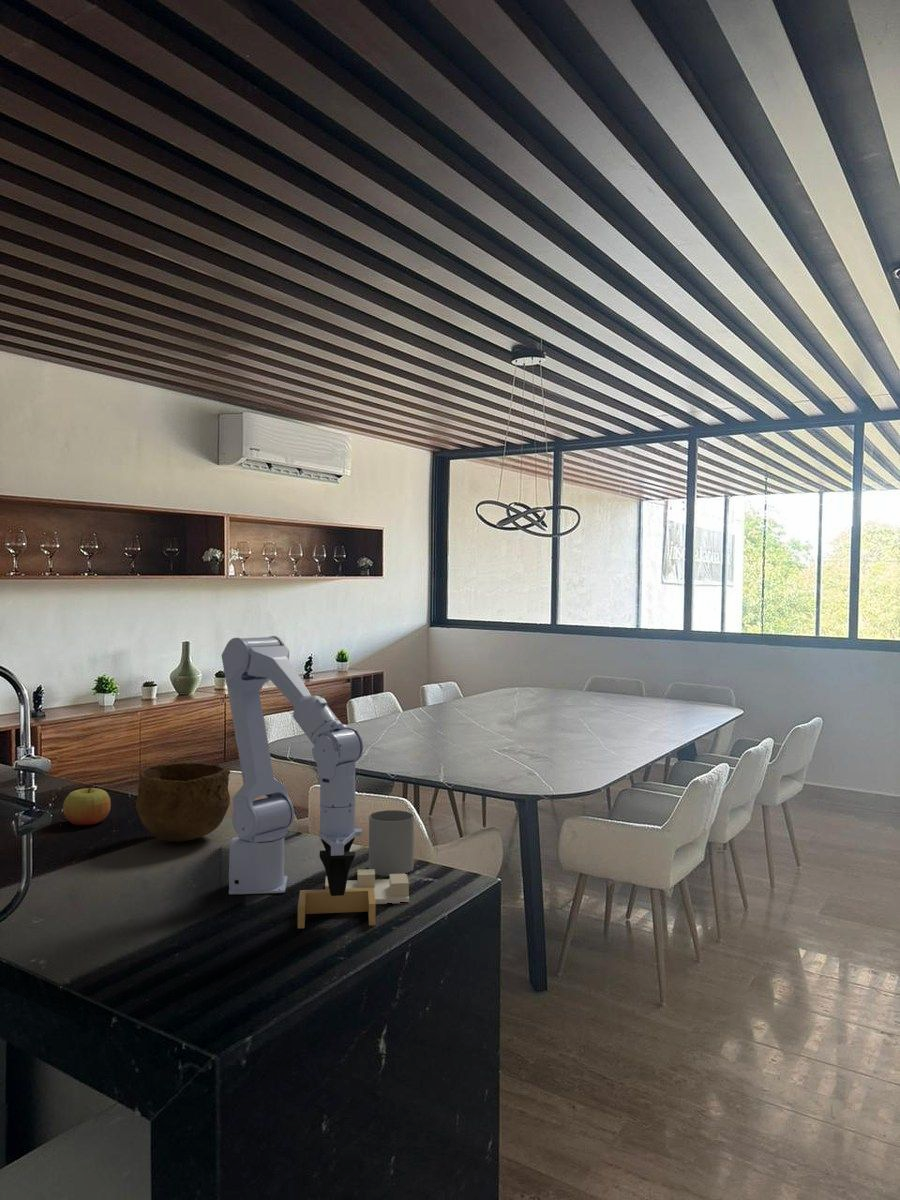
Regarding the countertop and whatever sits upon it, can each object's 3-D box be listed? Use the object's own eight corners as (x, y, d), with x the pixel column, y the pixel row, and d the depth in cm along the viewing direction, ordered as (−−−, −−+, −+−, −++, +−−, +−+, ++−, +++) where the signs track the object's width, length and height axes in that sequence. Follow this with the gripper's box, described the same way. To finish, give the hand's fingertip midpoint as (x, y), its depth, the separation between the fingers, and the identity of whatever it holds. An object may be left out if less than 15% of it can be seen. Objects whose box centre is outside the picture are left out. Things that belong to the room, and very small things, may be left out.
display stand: (409, 902, 145) (409, 885, 145) (324, 905, 143) (325, 887, 143) (404, 883, 155) (405, 866, 155) (326, 885, 153) (326, 868, 153)
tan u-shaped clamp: (375, 925, 135) (375, 903, 135) (297, 928, 134) (297, 906, 134) (373, 908, 142) (373, 887, 142) (299, 911, 141) (300, 890, 141)
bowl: (249, 836, 184) (249, 766, 183) (178, 859, 168) (178, 782, 168) (189, 823, 194) (189, 757, 194) (117, 843, 178) (117, 771, 178)
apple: (99, 829, 189) (99, 792, 189) (55, 828, 189) (55, 792, 189) (117, 817, 198) (117, 782, 198) (75, 817, 199) (75, 782, 199)
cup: (406, 877, 158) (407, 822, 158) (363, 874, 160) (363, 820, 160) (417, 863, 166) (417, 811, 166) (376, 860, 168) (376, 809, 168)
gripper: (363, 814, 134) (363, 901, 134) (361, 793, 149) (361, 871, 149) (317, 815, 133) (317, 903, 133) (319, 794, 148) (319, 873, 148)
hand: (337, 886), depth 141 cm, fingers open, 7 cm apart
